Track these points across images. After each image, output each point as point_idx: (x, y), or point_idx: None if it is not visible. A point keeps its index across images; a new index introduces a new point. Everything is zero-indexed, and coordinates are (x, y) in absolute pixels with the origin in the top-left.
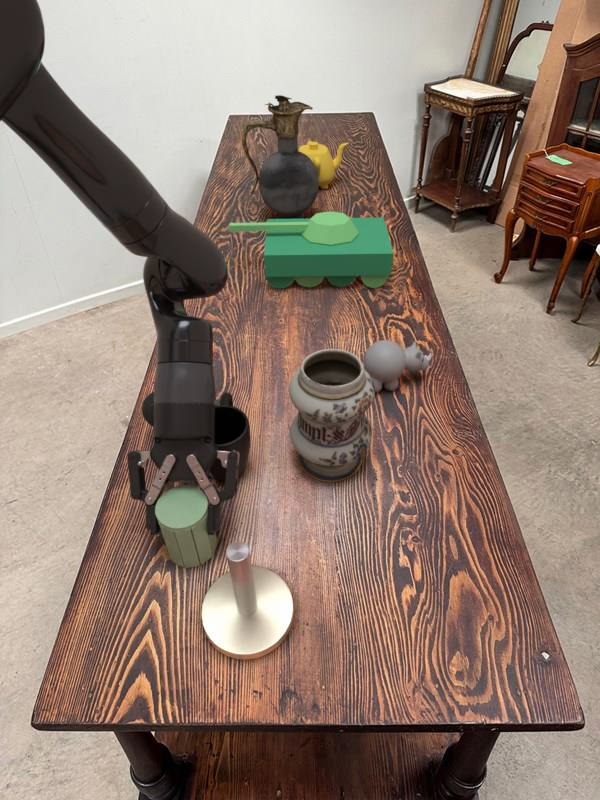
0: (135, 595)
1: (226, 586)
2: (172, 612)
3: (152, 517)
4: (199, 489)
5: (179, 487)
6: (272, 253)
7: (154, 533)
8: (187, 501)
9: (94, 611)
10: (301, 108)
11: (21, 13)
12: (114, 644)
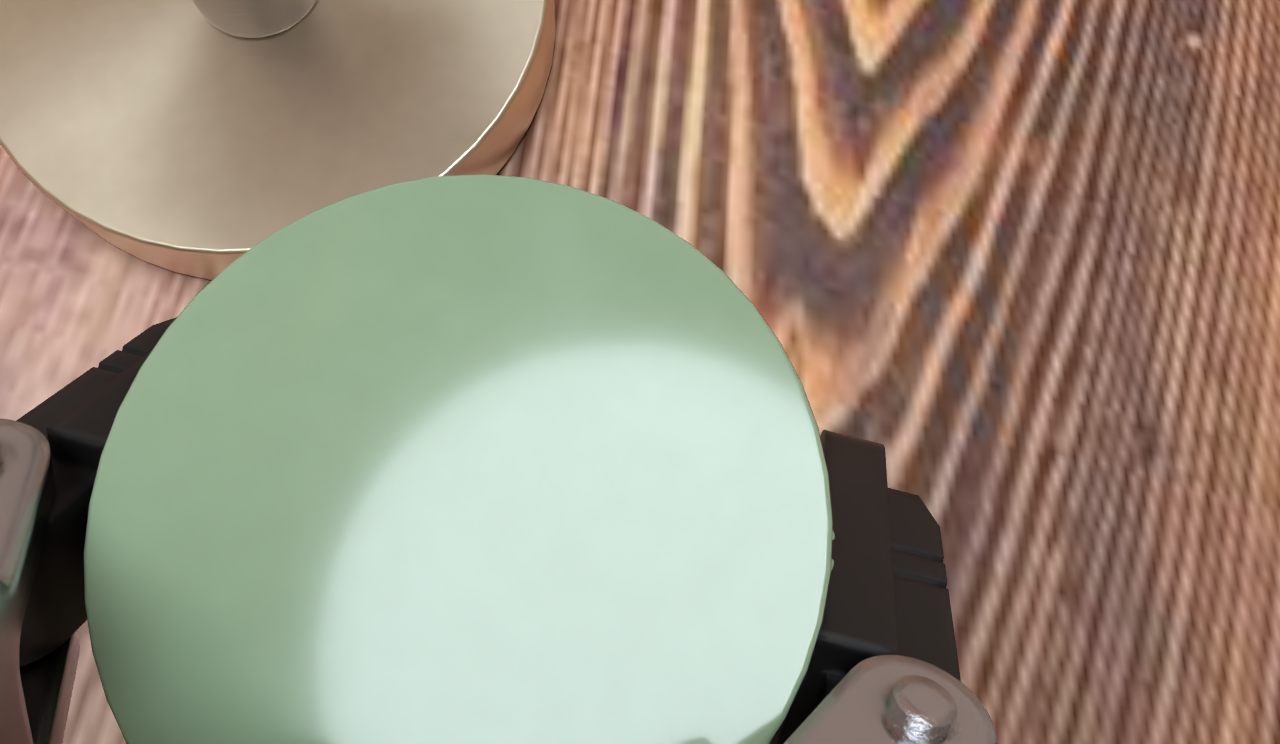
0: (965, 294)
1: (353, 136)
2: (729, 135)
3: (867, 540)
4: None
5: None
6: None
7: (841, 435)
8: (363, 566)
9: (1220, 249)
10: None
11: None
12: (1064, 35)
